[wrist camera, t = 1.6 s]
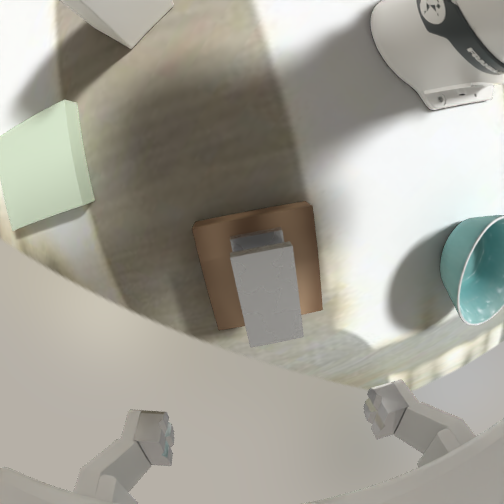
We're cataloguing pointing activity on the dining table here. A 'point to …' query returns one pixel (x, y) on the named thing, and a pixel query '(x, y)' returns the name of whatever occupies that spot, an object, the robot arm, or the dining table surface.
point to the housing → (267, 286)
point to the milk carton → (121, 16)
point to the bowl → (475, 268)
